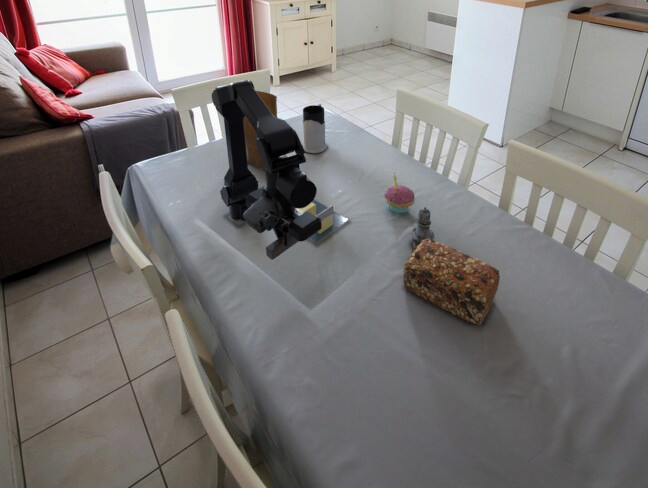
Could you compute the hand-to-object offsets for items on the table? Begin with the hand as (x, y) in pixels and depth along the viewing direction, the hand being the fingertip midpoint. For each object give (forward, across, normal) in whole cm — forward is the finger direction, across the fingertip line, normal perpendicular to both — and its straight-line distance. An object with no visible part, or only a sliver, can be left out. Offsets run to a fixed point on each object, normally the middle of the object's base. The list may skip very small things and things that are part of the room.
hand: (284, 243), depth 95 cm
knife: (+1, 0, +6) cm, 6 cm away
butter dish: (+10, -12, +18) cm, 24 cm away
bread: (+11, +30, +21) cm, 38 cm away
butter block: (+9, -15, +17) cm, 25 cm away
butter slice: (+9, -5, +17) cm, 20 cm away
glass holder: (+2, -41, +50) cm, 64 cm away
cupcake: (+10, +5, +38) cm, 40 cm away
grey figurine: (+11, +18, +30) cm, 36 cm away
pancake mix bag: (+10, -45, +27) cm, 53 cm away
